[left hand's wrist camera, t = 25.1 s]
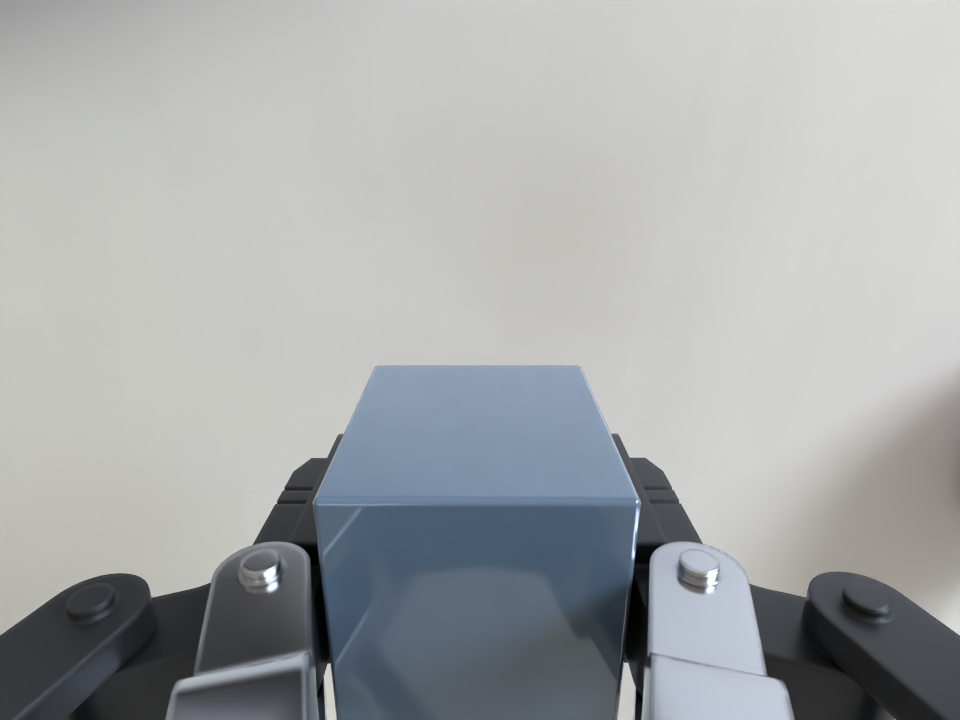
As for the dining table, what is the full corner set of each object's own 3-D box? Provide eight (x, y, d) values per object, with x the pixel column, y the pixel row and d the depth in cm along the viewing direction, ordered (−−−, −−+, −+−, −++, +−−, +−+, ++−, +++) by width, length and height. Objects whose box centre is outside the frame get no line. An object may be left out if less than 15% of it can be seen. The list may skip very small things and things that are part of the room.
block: (373, 363, 12) (309, 500, 7) (581, 364, 12) (643, 500, 7) (386, 558, 13) (340, 768, 9) (569, 559, 13) (614, 768, 9)
